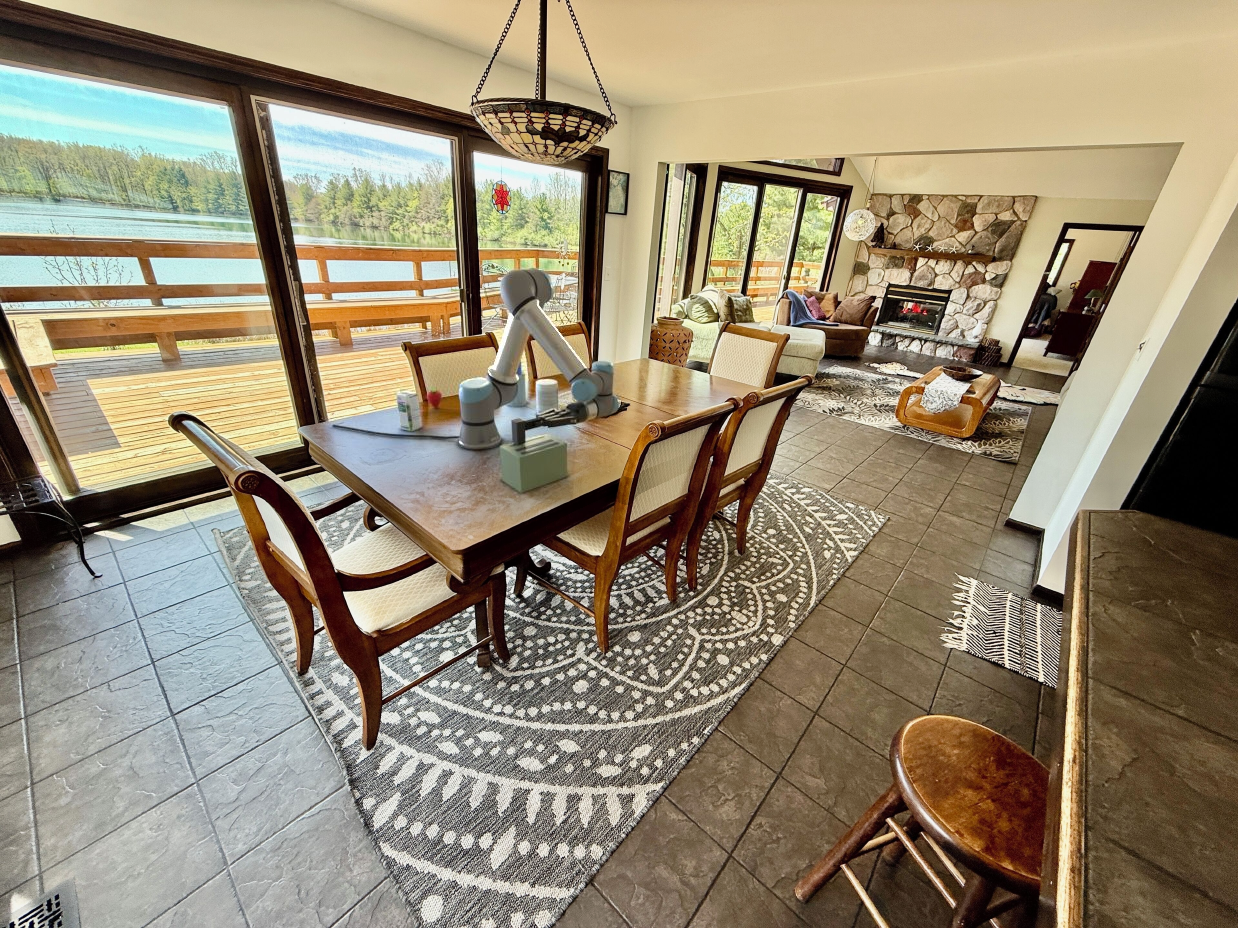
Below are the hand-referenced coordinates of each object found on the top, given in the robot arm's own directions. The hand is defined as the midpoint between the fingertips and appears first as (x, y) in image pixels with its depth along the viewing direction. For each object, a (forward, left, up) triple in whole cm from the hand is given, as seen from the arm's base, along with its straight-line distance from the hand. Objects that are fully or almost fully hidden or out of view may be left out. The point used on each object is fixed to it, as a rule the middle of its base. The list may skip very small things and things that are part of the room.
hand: (523, 426), depth 150 cm
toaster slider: (-1, -2, -5) cm, 6 cm away
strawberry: (-71, +36, -18) cm, 82 cm away
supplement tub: (-25, +55, -18) cm, 63 cm away
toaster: (+4, 0, -17) cm, 18 cm away
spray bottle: (-45, +60, -18) cm, 77 cm away
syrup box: (-62, +13, -18) cm, 66 cm away
